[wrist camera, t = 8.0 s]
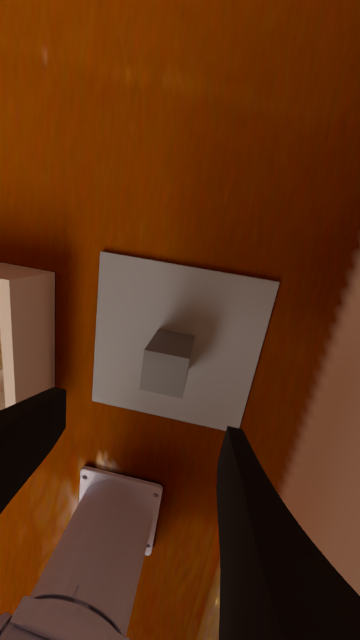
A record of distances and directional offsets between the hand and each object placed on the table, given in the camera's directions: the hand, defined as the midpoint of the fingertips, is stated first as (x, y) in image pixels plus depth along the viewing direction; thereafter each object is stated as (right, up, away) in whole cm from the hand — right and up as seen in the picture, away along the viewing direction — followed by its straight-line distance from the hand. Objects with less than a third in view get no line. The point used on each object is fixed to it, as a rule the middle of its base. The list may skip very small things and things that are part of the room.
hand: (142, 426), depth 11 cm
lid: (+1, +3, +9) cm, 10 cm away
